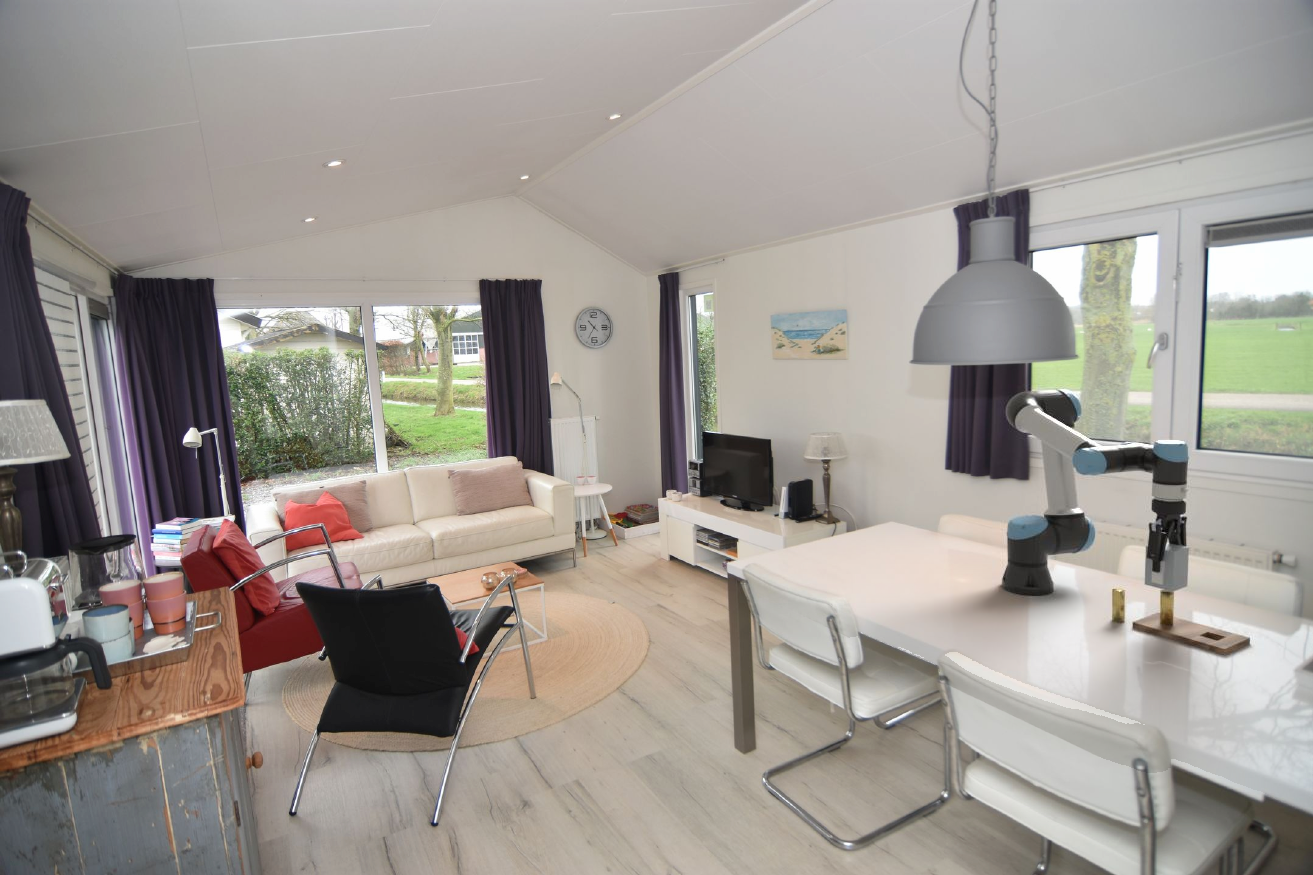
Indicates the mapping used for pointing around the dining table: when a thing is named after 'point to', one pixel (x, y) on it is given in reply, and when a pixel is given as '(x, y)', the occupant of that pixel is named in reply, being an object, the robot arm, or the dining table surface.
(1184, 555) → the block
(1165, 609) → the pin
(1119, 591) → the pin
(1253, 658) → the dining table surface
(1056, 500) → the robot arm
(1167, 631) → the board
